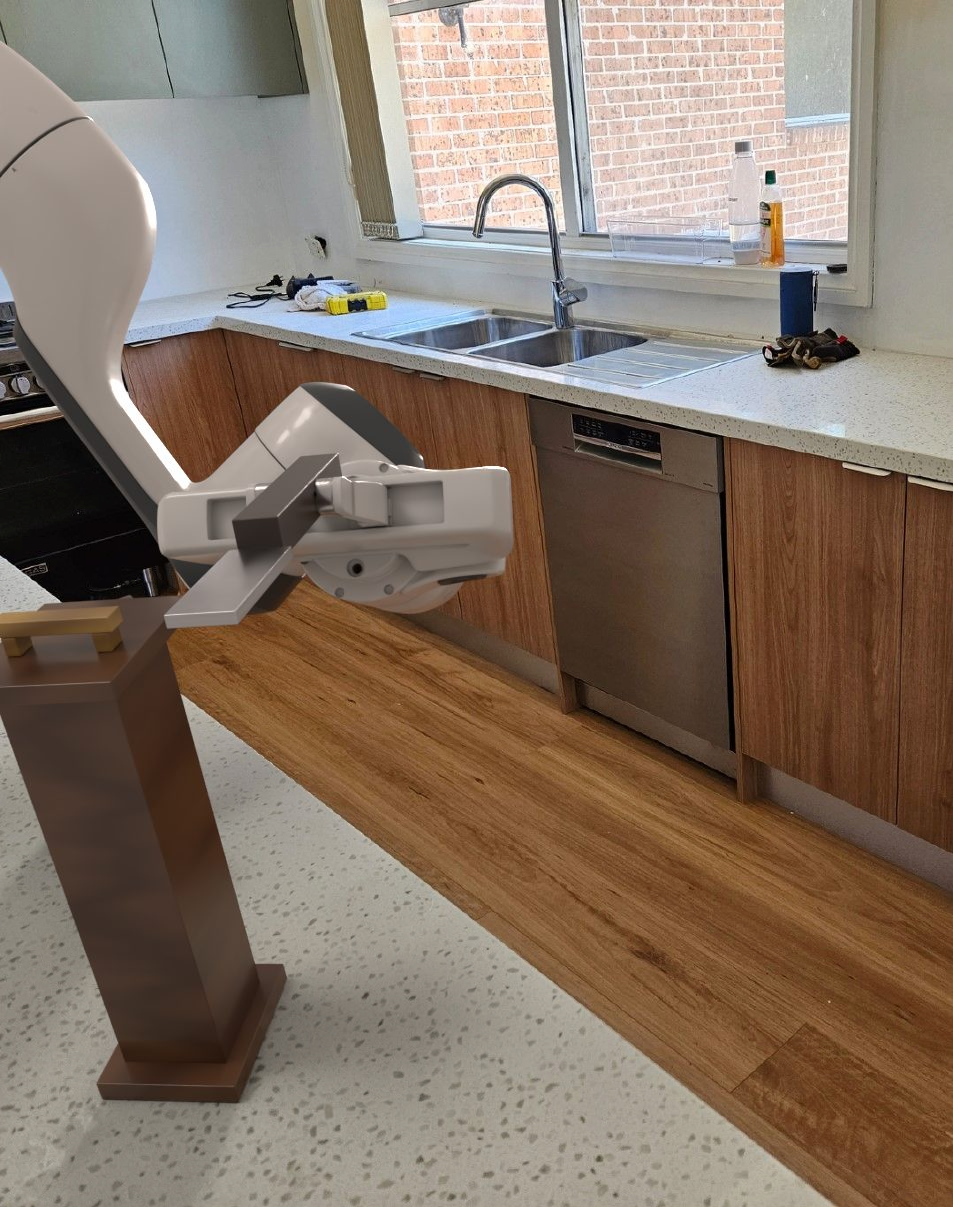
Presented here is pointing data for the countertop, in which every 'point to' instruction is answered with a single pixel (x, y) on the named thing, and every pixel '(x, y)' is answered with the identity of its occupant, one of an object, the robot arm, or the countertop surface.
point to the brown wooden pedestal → (136, 845)
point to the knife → (257, 547)
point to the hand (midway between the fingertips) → (293, 496)
